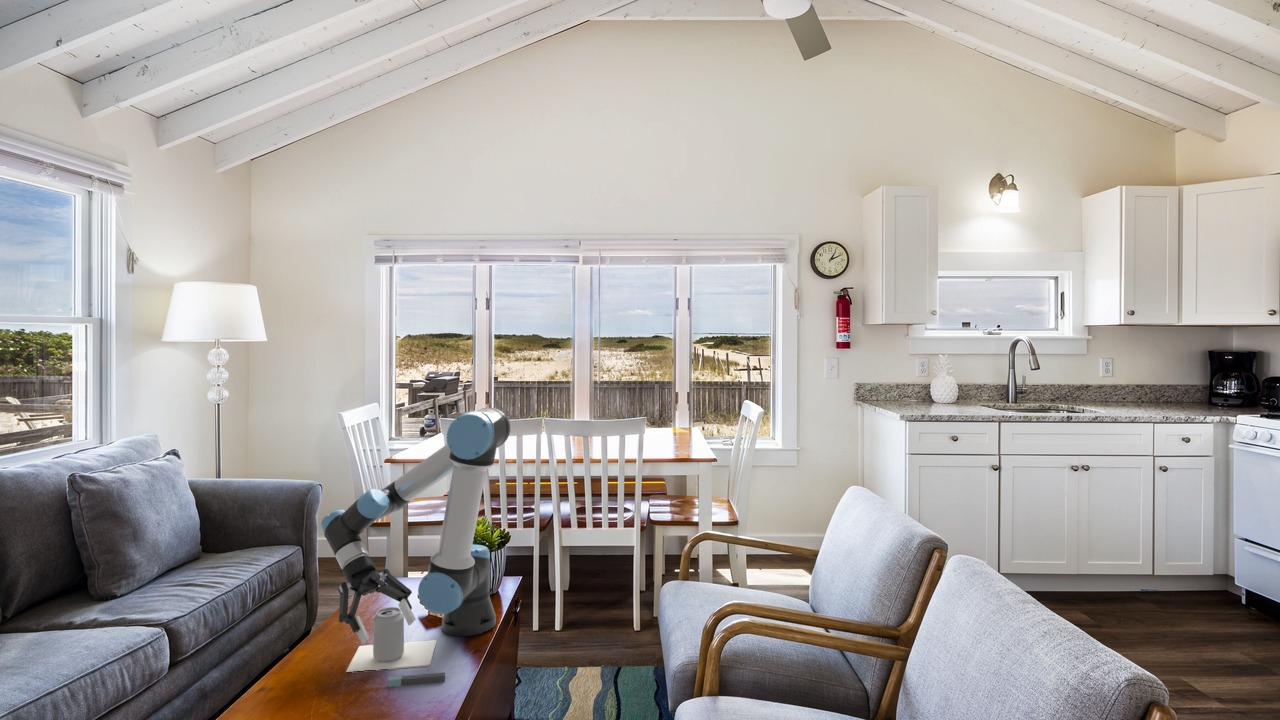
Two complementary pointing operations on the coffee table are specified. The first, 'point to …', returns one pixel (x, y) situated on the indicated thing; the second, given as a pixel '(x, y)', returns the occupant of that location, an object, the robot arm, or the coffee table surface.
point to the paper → (412, 657)
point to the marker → (416, 679)
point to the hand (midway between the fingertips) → (389, 631)
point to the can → (388, 634)
